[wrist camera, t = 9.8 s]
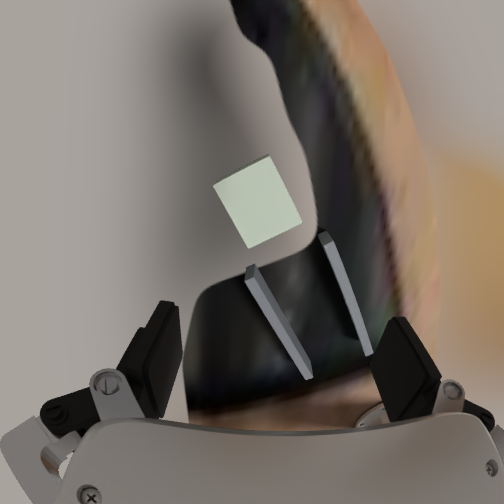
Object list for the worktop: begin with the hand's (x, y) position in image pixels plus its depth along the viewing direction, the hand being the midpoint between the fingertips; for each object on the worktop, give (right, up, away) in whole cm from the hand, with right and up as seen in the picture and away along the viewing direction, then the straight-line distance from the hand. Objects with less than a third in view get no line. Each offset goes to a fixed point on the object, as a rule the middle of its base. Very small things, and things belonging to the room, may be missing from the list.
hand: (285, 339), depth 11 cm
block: (-1, +9, +14) cm, 17 cm away
